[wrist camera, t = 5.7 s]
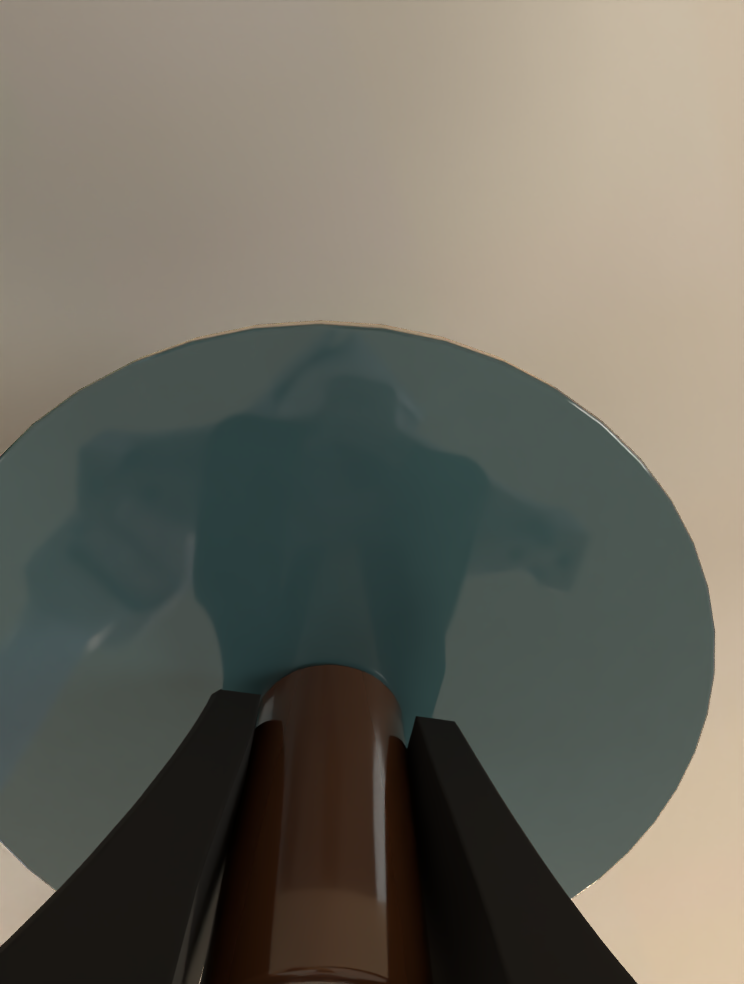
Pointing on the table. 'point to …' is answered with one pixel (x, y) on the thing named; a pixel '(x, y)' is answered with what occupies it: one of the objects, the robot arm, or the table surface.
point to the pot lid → (341, 623)
